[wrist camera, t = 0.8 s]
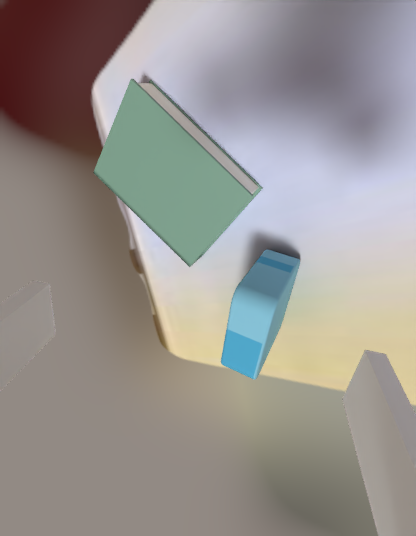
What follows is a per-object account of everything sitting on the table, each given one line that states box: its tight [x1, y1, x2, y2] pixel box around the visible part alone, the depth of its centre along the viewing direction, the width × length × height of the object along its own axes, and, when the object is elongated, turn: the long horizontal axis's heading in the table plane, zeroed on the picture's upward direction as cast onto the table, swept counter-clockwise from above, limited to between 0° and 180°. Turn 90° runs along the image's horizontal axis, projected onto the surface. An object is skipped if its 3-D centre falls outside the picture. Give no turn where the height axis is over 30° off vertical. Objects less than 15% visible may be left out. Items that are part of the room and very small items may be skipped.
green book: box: [94, 79, 262, 267], centre depth 41 cm, size 14×19×4 cm
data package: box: [221, 249, 300, 379], centre depth 39 cm, size 12×4×12 cm, turn 174°
